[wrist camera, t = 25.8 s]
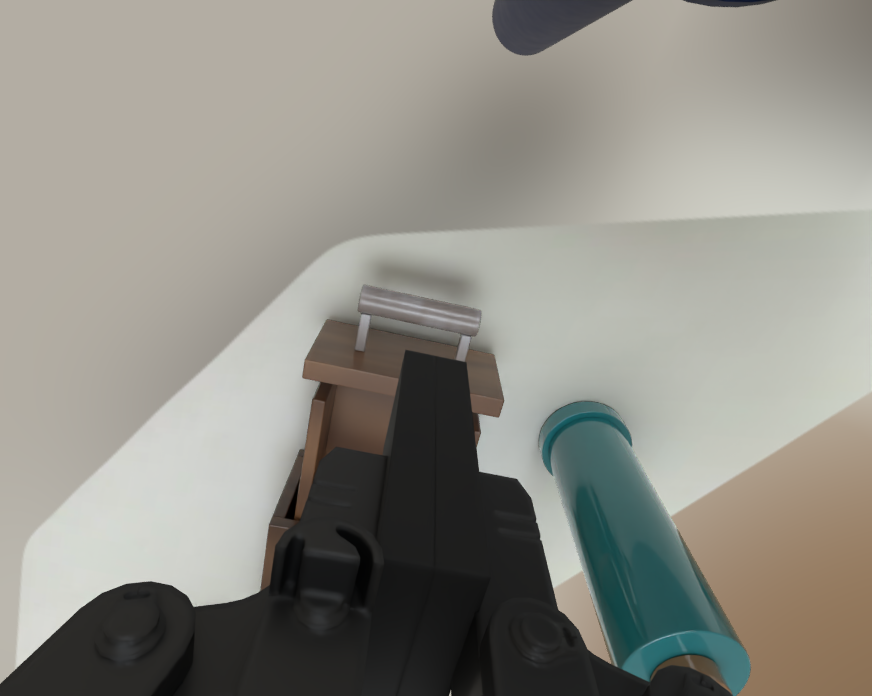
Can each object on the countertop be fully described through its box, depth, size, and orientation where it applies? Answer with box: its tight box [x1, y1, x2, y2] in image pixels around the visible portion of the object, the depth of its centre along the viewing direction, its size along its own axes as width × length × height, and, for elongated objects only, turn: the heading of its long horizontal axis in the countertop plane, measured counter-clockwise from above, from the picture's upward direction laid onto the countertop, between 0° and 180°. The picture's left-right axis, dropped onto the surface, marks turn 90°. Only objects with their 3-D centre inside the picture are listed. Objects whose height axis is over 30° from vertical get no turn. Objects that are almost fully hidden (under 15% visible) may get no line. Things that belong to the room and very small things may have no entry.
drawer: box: [294, 285, 504, 521], centre depth 36 cm, size 20×11×6 cm, turn 167°
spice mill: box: [539, 401, 751, 696], centre depth 31 cm, size 6×6×20 cm
